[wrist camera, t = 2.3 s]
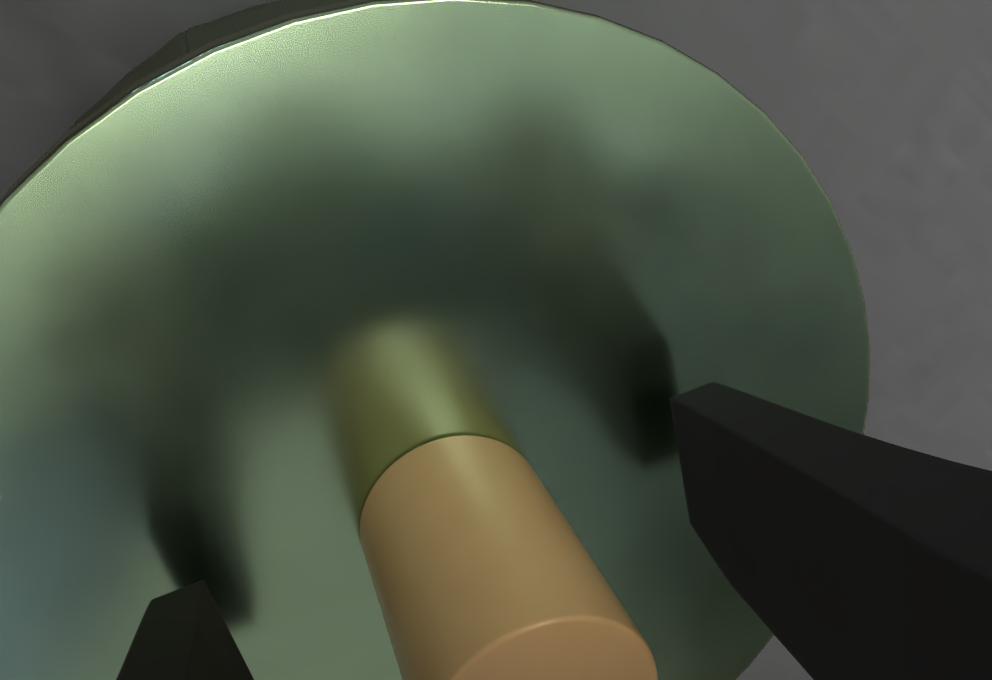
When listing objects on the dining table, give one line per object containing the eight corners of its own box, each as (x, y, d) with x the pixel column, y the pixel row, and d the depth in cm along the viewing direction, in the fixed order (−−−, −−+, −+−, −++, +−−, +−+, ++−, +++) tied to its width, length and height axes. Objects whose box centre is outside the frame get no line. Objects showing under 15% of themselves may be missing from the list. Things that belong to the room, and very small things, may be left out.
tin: (668, 448, 22) (840, 632, 16) (175, 644, 20) (179, 930, 14) (576, -87, 16) (787, -83, 11) (-117, 111, 14) (-294, 239, 9)
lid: (844, 619, 17) (1051, 835, 13) (160, 926, 15) (158, 1298, 11) (792, -139, 11) (1140, -166, 7) (-356, 190, 9) (-767, 414, 5)
